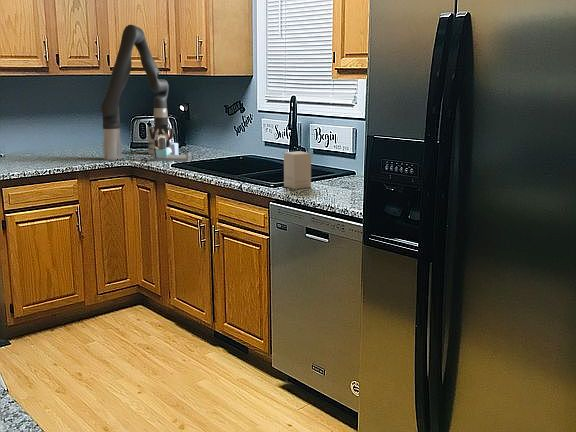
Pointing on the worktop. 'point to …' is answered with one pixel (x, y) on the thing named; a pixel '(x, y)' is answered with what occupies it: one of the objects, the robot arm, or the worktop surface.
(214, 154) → the worktop surface
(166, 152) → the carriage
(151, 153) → the coffee box
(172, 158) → the rail
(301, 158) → the supplement box
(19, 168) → the worktop surface
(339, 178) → the worktop surface
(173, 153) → the gauge box
